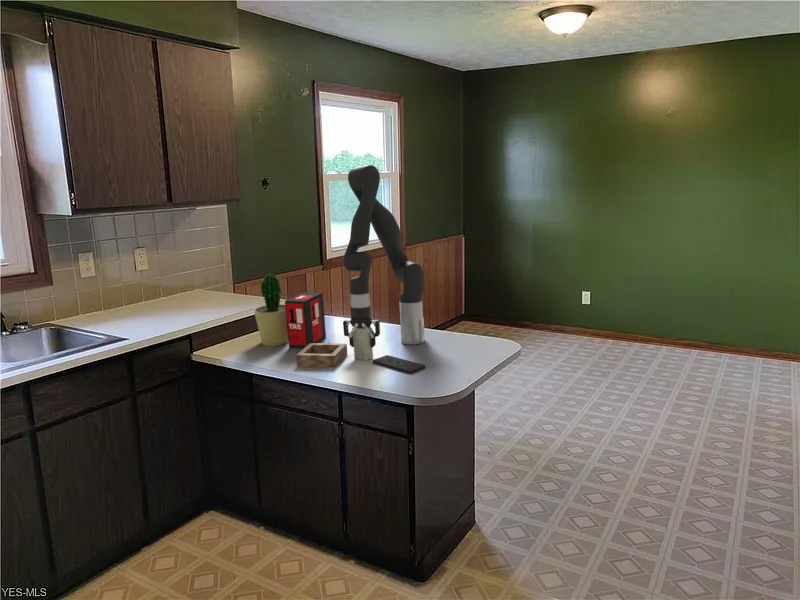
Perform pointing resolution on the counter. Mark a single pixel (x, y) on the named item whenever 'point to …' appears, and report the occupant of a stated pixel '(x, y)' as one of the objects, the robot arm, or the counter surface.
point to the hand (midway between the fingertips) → (362, 346)
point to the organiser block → (321, 355)
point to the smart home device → (399, 364)
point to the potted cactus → (272, 314)
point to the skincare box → (362, 344)
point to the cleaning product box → (305, 319)
